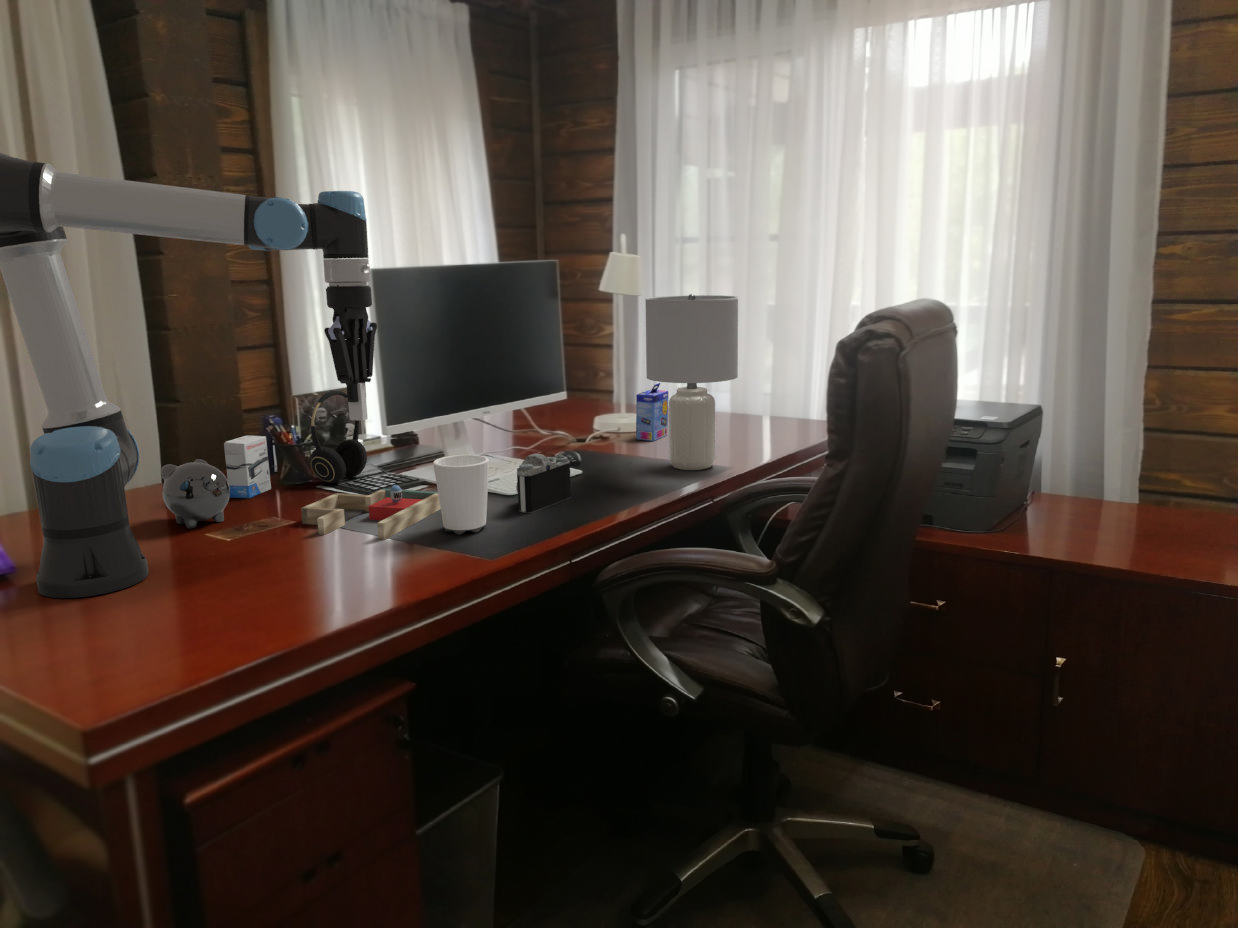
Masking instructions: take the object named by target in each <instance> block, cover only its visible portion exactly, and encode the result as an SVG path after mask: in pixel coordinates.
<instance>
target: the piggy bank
mask: <svg viewBox="0 0 1238 928" xmlns="http://www.w3.org/2000/svg"><path fill="white" fill-rule="evenodd" d="M160 476H161V477H162V479H163V481H164V482H163V486H162V499H163V502H164V505H166V507H167V509H168V510H169V511H170V512H171V513H173V514H174V515H175V521H176V523H177V524H179V525H183V524H185V525H184V526H185V527H186V528H187V529H189V530H190V529H195V528H196V527H197V526H198V523H199V521H206V520H210V519H212V521H214V523H221V522H224V520H225V516H224V515H225V514H224V510H225V508H226V507H227V505H228V503H229V501H230V486H229V482H228V478H227V475H225V473H223V472H222V470H220V469H219V468H218V467H216V466H213V465H211V464H209V463H208V462H207V461H206V460H203V459H202V458H201V459H199V458H197V459H195V460H194V461H193V462H186V463H184V464H180V465H179V466H178V465H174V464H171V463H169V464H165V465H163V466H162V467H161V469H160Z"/></svg>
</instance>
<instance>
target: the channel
mask: <svg viewBox="0 0 1238 928" xmlns="http://www.w3.org/2000/svg"><path fill="white" fill-rule="evenodd" d="M401 490H402V498H406V499H423V500H421V501H419V502H417V503H415V504H413V505H411V506H409V507H407V508H405V509H404V510H402V511H400V512H398V513H396V514H394V515H392V516H390V517H388V518H386V519H384V520H379V521H378V522H377V523H376V525H377V538H378V540H384V541H385V540H387V539H389V538H390V537H393V536H394V535H396V534H398V533H400V532H401V531H403V530H405V529H407V528H409V527H410V526H412V525H415V524H416V523H418V522H420V521H421V520H423V519H426V518H427V517H429V516H430V515H432V514H434V513H436V512H438V511H441V508H440V501H439V495H438V491H431V490H430V491H429V490H428V491H427V490H416V489H415V490H413V489H401ZM386 497H388V498H391V488H381V489H379V490H377V491H375V492H372V493H371V494H370V493H369V495H368V494H355V493H353V494H352V493H342V492H341V493H340V492H336V493H334V494H331V495H328V496H326V497H324V498H322V499H319V500H317V501H315V502H313V503H310V504H307V505H305V506H303V507H301V508H300V510H301V511H300V512H301V522H302V523H301V524H302V525H314V526H317V531H318V535H321V536H325V535H327V534H329V533H331V532H334V531H336V530H338V529H339V528H341V527H344V526H346V522H347V521H349V520H351V519H354V518H355V517H356V518H357V516H360V515H361V514H364V513H369V506H370V505H372V504H374V503H376V502H378V501H380V500H382V499H384V498H386Z"/></svg>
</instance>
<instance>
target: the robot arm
mask: <svg viewBox="0 0 1238 928" xmlns="http://www.w3.org/2000/svg"><path fill="white" fill-rule="evenodd" d="M317 198H318V199H317V202H316V203H315V202H314V203H306V204H305V203H297V202H296V201H293V200H291V199H289V198H284V197H279V196H274V197H264V196H257V195H256V196H255V195H254V196H253V195H247V194H242V193H241V194H240V193H232V192H225V191H224V192H223V191H217V190H216V191H215V190H210V189H199V188H192V187H182V186H176V185H168V184H167V185H165V184H160V183H149V182H144V181H143V182H142V181H134V180H126V179H119V178H109V177H101V176H93V175H86V174H76V173H69V172H62V171H61V172H60V171H57V169H56V168H55V167H54V166H53V165H52V164H51V163H48V162H39V161H38V162H37V161H33V160H26V159H22V158H18V157H15V156H10V155H8V154H6V153H1V152H0V272H1V273H0V274H1V275H2V278H3V279H2V280H3V282H4V285H5V287H6V290H7V293H8V296H9V299H10V302H11V305H12V309H13V311H14V314H15V317H16V320H17V324H18V327H19V329H20V332H21V335H22V339H23V340H24V343H25V347H26V350H27V353H28V355H29V359H30V362H31V365H32V367H33V370H34V374H35V377H36V379H37V383H38V386H39V388H40V391H41V394H42V397H43V400H44V403H45V406H46V409H47V416H46V417H45V419H44V421H43V422H42V424H41V428H42V433H43V434H42V435H40V436H38V437H37V438H35V439H34V440H33V441H32V443H31V444H30V447H29V448H30V449H29V454H30V457H29V465H30V469H31V471H32V476H33V483H34V487H35V488H34V489H35V495H36V500H37V505H38V507H37V509H38V513H39V519H40V525H41V531H42V537H43V544H42V549H41V555H40V559H39V560H40V561H39V569H38V571H37V572H36V576H35V577H36V578H35V579H36V584H37V585H36V586H37V591H38V593H39V594H40V595H41V596H43V597H48V598H53V599H54V598H55V599H76V598H86V597H95V596H98V595H105V594H109V593H113V592H116V591H120V590H123V589H126V588H129V587H131V586H134V585H137V584H139V583H140V582H142V581H143V580H145V579H146V578H147V577H148V576H149V573H150V572H149V565H148V560H147V557H146V556H145V554H143V552H142V550H141V547H140V544H139V543H138V541H137V538H136V537H135V535H134V533H133V531H132V529H131V525H130V519H129V511H128V504H127V498H126V497H127V496H126V492H125V490H126V489H125V487H126V486H127V485H128V484H129V483H130V481H131V480H133V477H134V476H135V475H136V473H137V470H138V467H139V463H140V450H139V445H138V443H137V441H136V439H135V437H134V436H133V434H132V433H131V431H130V430H128V428H127V425H126V422H125V418H124V415H123V413H122V409H121V407H120V406H118V405H116V404H114V403H112V402H111V401H109V400H108V399H107V396H106V393H105V390H104V385H103V383H102V380H101V377H100V373H99V370H98V368H97V365H96V361H95V358H94V355H93V352H92V347H91V345H90V343H89V340H88V336H87V333H86V329H85V326H84V323H83V321H82V318H81V314H80V311H79V308H78V304H77V301H76V298H75V295H74V292H73V289H72V286H71V283H70V279H69V277H68V273H67V271H66V267H65V264H64V263H65V262H64V260H63V258H62V257H63V256H62V251H63V249H64V247H65V246H66V244H67V243H68V238H67V235H66V231H65V229H64V228H73V229H82V230H91V231H92V230H93V231H100V232H101V231H102V232H103V231H104V232H111V233H121V234H122V233H123V234H130V235H141V236H151V237H160V238H169V239H170V238H171V239H180V240H181V239H182V240H189V241H191V240H192V241H200V242H210V243H220V244H229V245H238V246H247V247H248V248H249V249H250V250H253V251H264V252H272V251H299V250H301V251H302V250H322V253H323V255H322V259H323V260H322V261H323V273H324V275H323V276H324V283H326V284H328V286H327V287H326V288H325V296H326V305H327V307H328V308H329V309H332V310H333V315H332V325H331V326H330V327H325V328H324V331H323V332H324V335H325V336H326V338H327V341H328V344H329V347H330V352H331V358H332V362H333V365H334V369H335V374H336V377H337V381H338V382H339V383H340V384H343V385H344V384H345V385H346V394H347V398H348V399H347V398H346V399H347V402H348V404H347V405H348V416H349V421H355V420H359V421H363V422H364V421H366V420H368V419H369V418H368V405H367V390H366V389H367V387H366V383H370V382H371V381H372V377H373V373H374V357H375V355H374V354H375V340H376V339H375V337H376V336H375V335H376V333H377V328H378V324H377V322H371V321H370V320H369V313H368V312H367V308H369V307H371V306H372V305H373V298H372V297H373V296H372V287H371V286H370V285H368V283H369V282H371V276H370V275H371V273H370V269H371V268H370V263H369V244H368V243H369V241H368V227H367V215H366V209H365V200H364V197H363V195H362V194H361V193H360V192H358V191H353V190H329V191H325V190H324V191H321V192H319V193H318V196H317Z"/></svg>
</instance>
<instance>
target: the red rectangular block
mask: <svg viewBox="0 0 1238 928" xmlns="http://www.w3.org/2000/svg"><path fill="white" fill-rule="evenodd" d="M390 489H391V498H388V497H386V498H384V499H382V500H380V501H378V502H376V503H374V504H372V505H370V506H369V512H368V516H369V517H368V518H369V520H373V521H375V520H376V521H382V520H384V519H386V518H388V517H390V516H392V515H394V514H396V513H398V512H400V511H402V510H404V509H405V508H407V507H409V506H411V505H413V504H415V503H417V502H419V501H421V500H423V499H406V498H402V490H403V489H402V488H401V487H400V486H399V485H397V484H393V485H392V486H391V488H390Z"/></svg>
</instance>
